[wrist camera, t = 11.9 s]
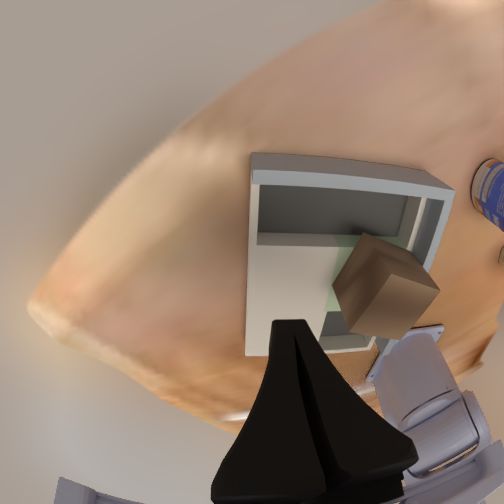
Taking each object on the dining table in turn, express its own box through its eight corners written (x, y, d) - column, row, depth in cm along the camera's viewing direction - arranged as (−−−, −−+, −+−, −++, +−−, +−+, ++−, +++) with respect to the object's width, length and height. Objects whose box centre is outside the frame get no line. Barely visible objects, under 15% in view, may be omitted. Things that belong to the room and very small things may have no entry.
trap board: (371, 334, 28) (382, 364, 24) (245, 339, 27) (245, 373, 24) (425, 171, 18) (455, 190, 15) (251, 152, 18) (253, 169, 14)
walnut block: (379, 297, 22) (400, 340, 18) (331, 285, 21) (348, 331, 17) (410, 251, 20) (440, 290, 16) (363, 232, 19) (391, 273, 15)
